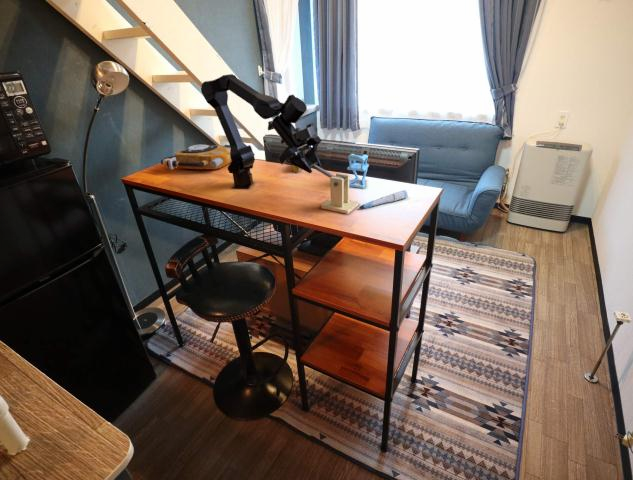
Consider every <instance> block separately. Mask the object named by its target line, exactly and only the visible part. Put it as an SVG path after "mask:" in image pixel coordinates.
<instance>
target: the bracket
mask: <svg viewBox="0 0 633 480" xmlns="http://www.w3.org/2000/svg"><path fill="white" fill-rule="evenodd" d="M335 176H336V177H330V178H329V185H330V186H329V187H330V188H329V190H330V197H329V198H328V199H327V200H326V201H325V202H323V203H322V204H321V205H320V208H321V209H322V210H323V209H324V210H328V211H332V212H336V213H342V214H346V215H349V214H350V213H351V212H352V211H353V210H355V209H356V208H357V207H358V206H359V201H356V200H352V199H350V187H349V181H350V174H347V173H341V172H336V174H335ZM337 176H341V177H343V178H345V179H346V181H345V183H344V179H343V178H337Z"/></svg>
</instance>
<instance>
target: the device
mask: <svg viewBox="0 0 633 480" xmlns="http://www.w3.org/2000/svg"><path fill="white" fill-rule="evenodd" d="M230 150H231V147H230V144H224V145H219V144H210V145H209V144H194V145H190V146H189V147H187V148H185V149H182V150H180V151H178V152H176V153H174V155H172V156H171V155H170V156H166V157H165V158H162V159H160V165H162V166H163V167H165V168H167V169H169V170H175V169H176V168H177V169H185V170H186V169H187V170H217V169H220V168H223V167H225V166H227V165H230V163H231V162H232V161H231V157H230Z"/></svg>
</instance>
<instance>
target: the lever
mask: <svg viewBox="0 0 633 480" xmlns="http://www.w3.org/2000/svg"><path fill="white" fill-rule="evenodd" d="M308 165H309V166H310V168H311V169H314V170H315V171H317V172H318V173H321V174H322V175H324V176H326V177H327V178H329V179H330V177H336V175H334V174H333V173H331V172H329V171H327V170H326V169H324V168H322V167H319V166H317V165H318V161H316V162H314V163H312V162H311V163H310V164H308ZM337 178H343V177H341V176H337ZM343 179H344V183H345V181H346V179H345V178H343Z"/></svg>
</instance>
